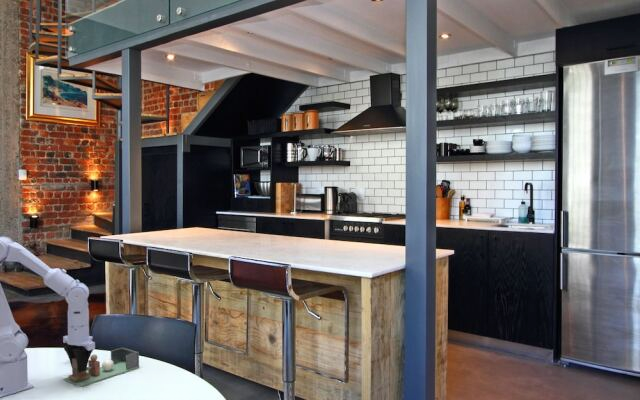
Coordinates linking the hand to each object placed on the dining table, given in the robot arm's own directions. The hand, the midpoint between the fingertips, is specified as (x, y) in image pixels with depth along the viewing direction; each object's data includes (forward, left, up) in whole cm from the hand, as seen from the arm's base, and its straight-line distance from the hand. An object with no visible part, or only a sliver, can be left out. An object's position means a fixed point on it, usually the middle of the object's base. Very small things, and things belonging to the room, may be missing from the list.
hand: (79, 369), depth 153 cm
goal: (+15, 0, -3) cm, 15 cm away
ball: (+9, 0, -1) cm, 9 cm away
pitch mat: (+7, 0, -3) cm, 8 cm away
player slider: (+2, 0, -3) cm, 3 cm away
